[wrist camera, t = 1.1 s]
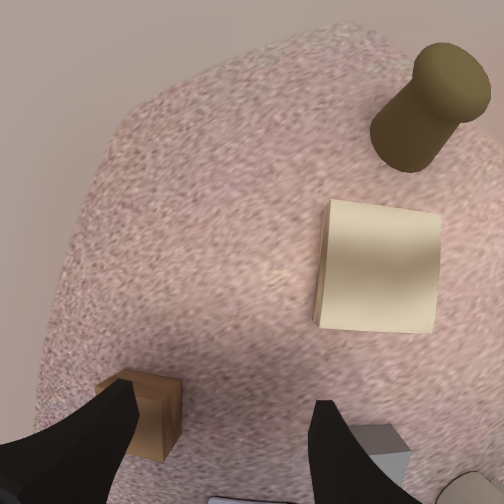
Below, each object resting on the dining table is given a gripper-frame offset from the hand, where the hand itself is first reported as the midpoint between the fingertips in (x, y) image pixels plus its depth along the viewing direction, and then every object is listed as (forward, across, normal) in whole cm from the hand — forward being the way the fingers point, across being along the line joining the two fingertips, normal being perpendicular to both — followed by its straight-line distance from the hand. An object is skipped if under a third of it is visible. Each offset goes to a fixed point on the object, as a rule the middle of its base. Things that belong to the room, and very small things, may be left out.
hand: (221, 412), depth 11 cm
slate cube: (+7, -10, +12) cm, 18 cm away
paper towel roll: (+4, -24, +20) cm, 31 cm away
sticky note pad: (+13, -9, -1) cm, 16 cm away
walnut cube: (+9, +7, +10) cm, 15 cm away
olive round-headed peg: (+17, -12, -12) cm, 24 cm away
